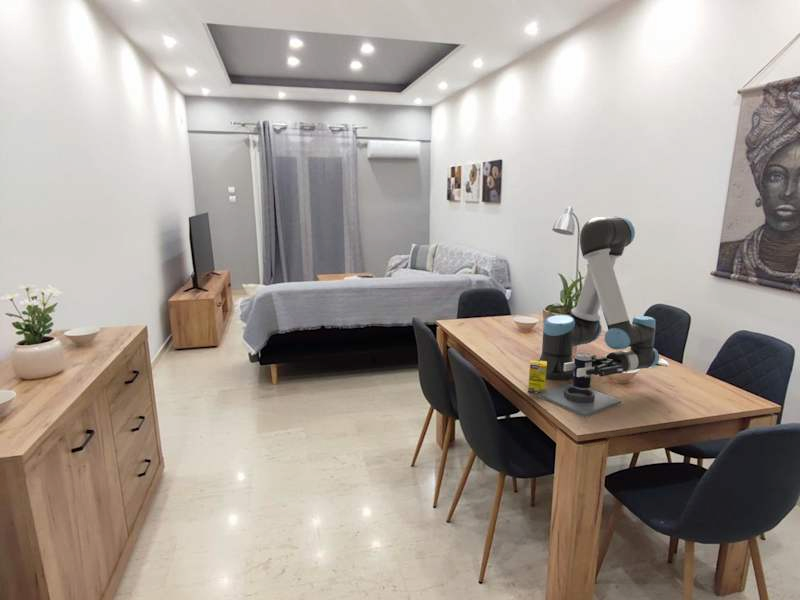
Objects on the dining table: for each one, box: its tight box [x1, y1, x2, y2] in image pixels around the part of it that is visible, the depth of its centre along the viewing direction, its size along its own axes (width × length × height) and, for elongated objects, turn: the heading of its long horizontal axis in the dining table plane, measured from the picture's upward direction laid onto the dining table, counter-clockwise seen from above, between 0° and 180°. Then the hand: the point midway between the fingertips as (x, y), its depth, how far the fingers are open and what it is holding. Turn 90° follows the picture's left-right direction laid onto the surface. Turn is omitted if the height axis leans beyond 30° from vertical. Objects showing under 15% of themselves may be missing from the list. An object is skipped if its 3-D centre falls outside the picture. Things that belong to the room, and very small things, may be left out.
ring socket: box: [537, 382, 623, 418], centre depth 167 cm, size 20×20×3 cm
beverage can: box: [572, 352, 592, 390], centre depth 164 cm, size 6×6×12 cm
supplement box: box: [527, 359, 547, 394], centre depth 174 cm, size 6×6×11 cm
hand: (570, 370), depth 162 cm, fingers closed on beverage can, 6 cm apart
